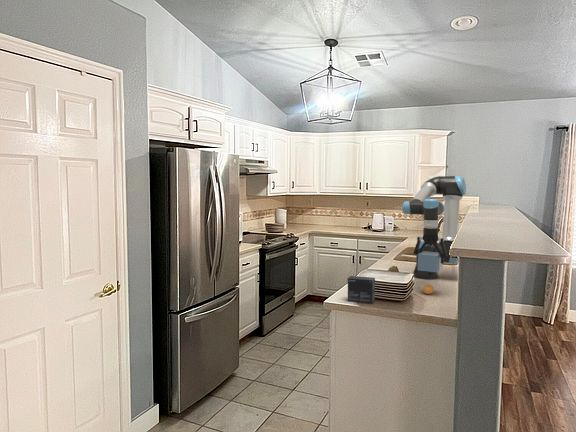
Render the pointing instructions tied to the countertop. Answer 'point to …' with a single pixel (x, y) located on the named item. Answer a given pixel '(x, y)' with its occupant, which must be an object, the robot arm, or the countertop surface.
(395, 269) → the rock
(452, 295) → the countertop surface
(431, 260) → the grey-blue square block
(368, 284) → the small box
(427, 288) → the ball
